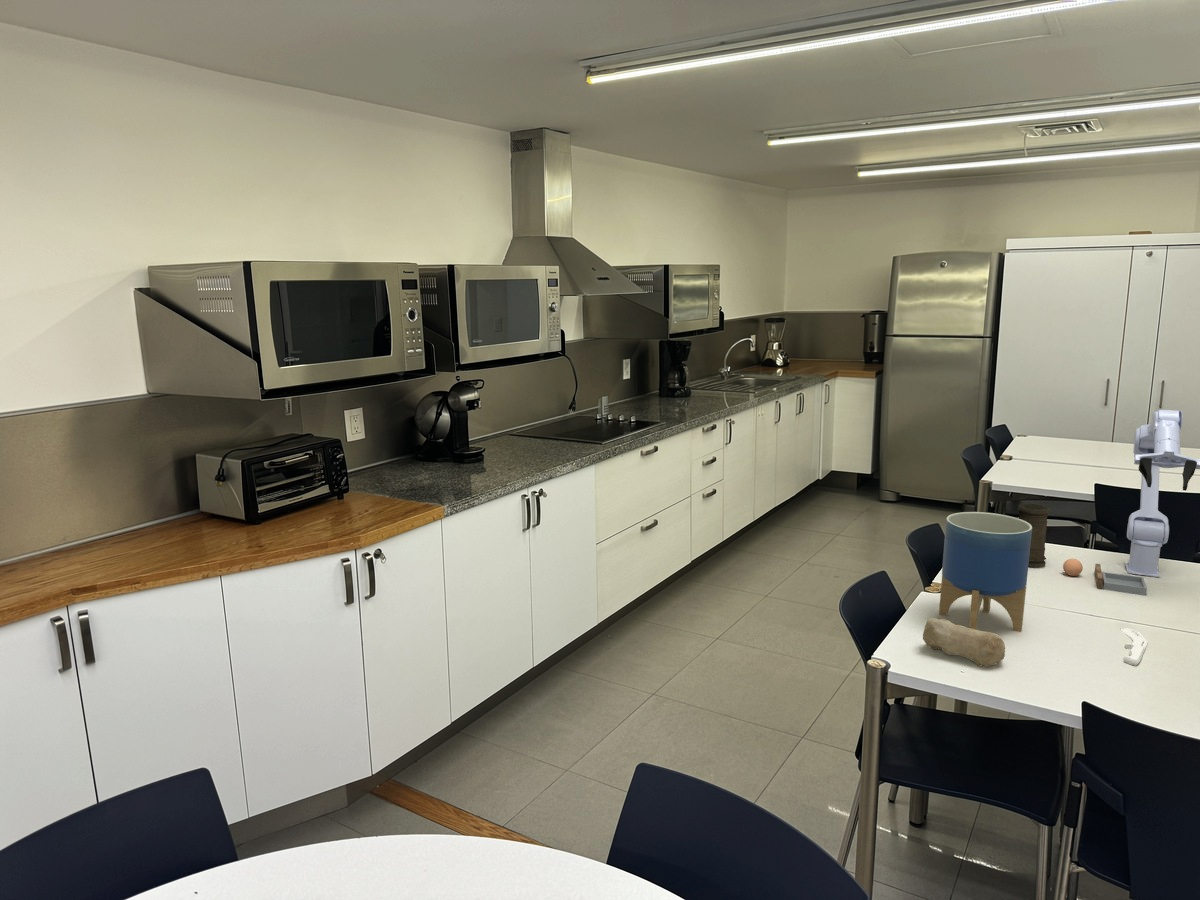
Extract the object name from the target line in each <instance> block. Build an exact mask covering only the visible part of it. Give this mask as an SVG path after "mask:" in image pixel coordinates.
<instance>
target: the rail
mask: <svg viewBox="0 0 1200 900" xmlns="http://www.w3.org/2000/svg"><path fill="white" fill-rule="evenodd" d="M1102 572H1103V571H1102V566H1101V564H1100V563H1095V565H1094V574H1093V575H1094V579H1095V584H1096V585H1095V586H1096V589H1098V590H1102V589H1103V576H1102Z"/></svg>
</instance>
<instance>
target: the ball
mask: <svg viewBox="0 0 1200 900" xmlns="http://www.w3.org/2000/svg"><path fill="white" fill-rule="evenodd" d="M1083 567H1084V566H1083V563H1082V562H1081V561H1080V560H1078V559H1076V558H1068V559H1066V560H1065V561H1064V562H1063V565H1062V569H1063V571H1064V573H1065V574H1066V575H1069V576H1072V577H1076V576H1079V575H1080V574H1081V573H1082V572H1083V569H1084V568H1083Z"/></svg>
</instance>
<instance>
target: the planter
mask: <svg viewBox="0 0 1200 900" xmlns="http://www.w3.org/2000/svg"><path fill="white" fill-rule="evenodd" d="M1018 518H1019V517H1014V516H1010V515H1006V514H999V513H993V512H983V511H982V512H981V511H963V512H956V513H952V514H951V513H950V514H949V515H948V516H946V519H945V528H944V529H945V530H944V543H943V544H944V545H943V555H942V566H941V567H942V568H941V584H940V585H941V586H940V599H939V608H938V609H939V610H938V615H939V616H944V617H947V616H948V615H949V610H950V607H951V606H952V604H953V603H954V602H955V601H956V600H958V599H960V598H962V597H966V596H971V600H970V612H969V621H968V622H969V623H968V624H969V625H968V628H971V629H975V630H977V625H978V619H979V614H980V609H981V606H982V613H986V614H989V613H990V610H991V602H992V600H993V601H995V602H996V603H998V604H999V605H1001V606H1002V608H1004V609H1005V610H1006V612H1007V613H1008V615H1009V617H1010V619H1011V623H1012V631H1013V632H1018V633H1021V632H1022V631H1023V625H1024V624H1023V621H1024V613H1025V605H1026V593H1027V583H1028V574H1029V573H1028V571H1029V567H1028V565H1029V555H1030V545H1031V535H1032V526H1031V525H1030V524H1029V523H1028V522H1026V521H1023V520H1021V519H1018ZM982 603H983V605H982Z"/></svg>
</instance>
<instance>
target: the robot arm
mask: <svg viewBox="0 0 1200 900" xmlns="http://www.w3.org/2000/svg"><path fill="white" fill-rule="evenodd" d="M1183 420H1184V417H1183V411H1182V410H1173V409H1172V410H1171V409H1169V410H1168V409H1158V410H1157V411H1154V412H1153V413H1152V418H1151V421H1150V423H1149V424H1143V425H1142V424H1141V425H1140V426H1139V427H1137V428H1135V431H1134V436H1133V454H1134V455H1133V457H1134V459H1133V460H1134V465H1137V466H1138V471H1139V473H1140V474H1141V480H1140V481H1141V482H1140V484H1141V485H1140V504H1139V505H1140V506H1139V509H1138V510H1136V511H1134V512H1132V513H1130V515H1129V517H1128V523H1127V528H1126V529H1127V530H1126V538H1127V539H1128V541H1131V543H1130V552H1129V559H1128V560H1129V561H1128V562H1125V564H1124V565H1125V569H1126V572H1127V574H1132V575H1140V576H1147V577H1154V578H1161V573H1160V572H1159V569H1158V568H1159V561H1160V554H1161V553H1160V552H1161V547H1163V545H1165V544H1167V543H1168V540H1169V535H1170V525H1169V519H1168V517H1167V516H1166V515H1165V514H1163V513H1162V512H1161V511H1159V487H1160V468H1163V469H1175V468H1182V467H1183V471H1182V491H1187V490H1188V485H1189V482H1190V480H1191V478H1192V477H1193V476H1194V475H1195V472H1196V470H1200V458H1194V457H1191V456H1188V455H1187V456H1186V455H1183V454H1181V429H1182V426H1183Z"/></svg>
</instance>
